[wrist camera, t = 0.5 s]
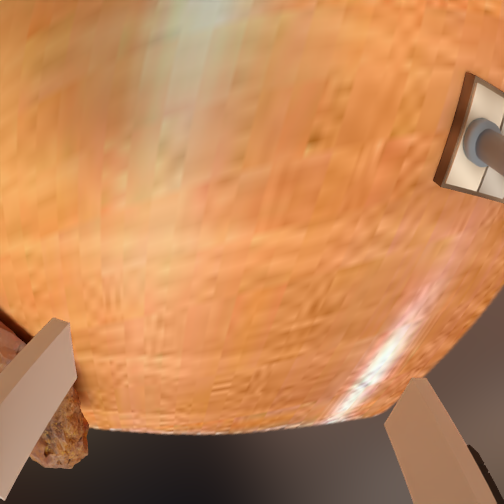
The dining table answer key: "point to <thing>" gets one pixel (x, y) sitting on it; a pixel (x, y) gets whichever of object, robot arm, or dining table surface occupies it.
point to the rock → (61, 424)
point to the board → (453, 159)
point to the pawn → (484, 144)
